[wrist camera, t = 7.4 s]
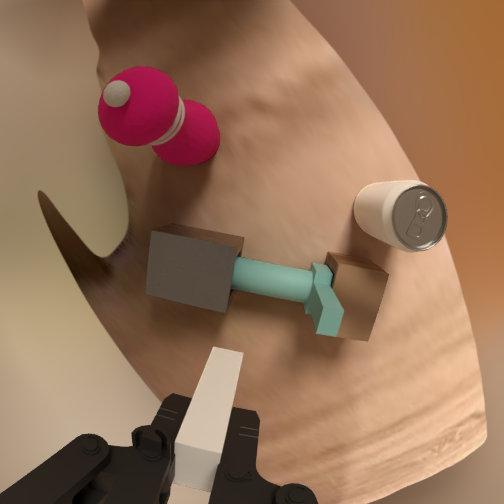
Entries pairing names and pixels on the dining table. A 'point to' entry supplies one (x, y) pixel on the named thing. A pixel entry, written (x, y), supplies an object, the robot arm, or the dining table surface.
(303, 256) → the dining table surface
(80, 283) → the dining table surface
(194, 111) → the pepper mill
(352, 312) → the socket
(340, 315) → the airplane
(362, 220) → the can
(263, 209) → the dining table surface
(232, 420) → the robot arm
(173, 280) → the gray block
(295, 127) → the dining table surface
